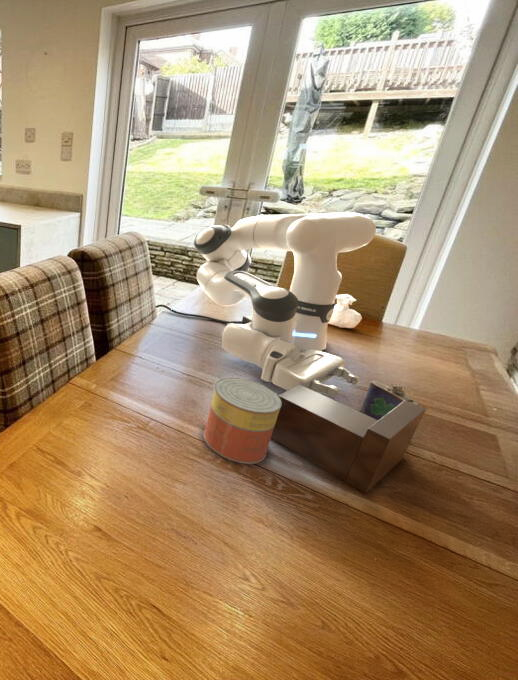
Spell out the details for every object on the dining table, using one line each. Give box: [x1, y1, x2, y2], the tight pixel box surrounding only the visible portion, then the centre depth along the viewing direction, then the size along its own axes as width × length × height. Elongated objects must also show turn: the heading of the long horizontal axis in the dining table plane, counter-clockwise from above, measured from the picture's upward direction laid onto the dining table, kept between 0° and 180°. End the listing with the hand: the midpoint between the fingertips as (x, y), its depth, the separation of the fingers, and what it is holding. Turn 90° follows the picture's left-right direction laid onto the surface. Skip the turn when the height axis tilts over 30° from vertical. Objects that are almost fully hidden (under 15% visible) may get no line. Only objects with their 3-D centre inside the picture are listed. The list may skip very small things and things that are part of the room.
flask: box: [358, 380, 420, 420], centre depth 83 cm, size 9×3×11 cm, turn 8°
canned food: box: [203, 377, 282, 465], centre depth 78 cm, size 11×11×12 cm
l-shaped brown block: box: [270, 385, 427, 494], centre depth 77 cm, size 17×16×12 cm
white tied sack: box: [328, 293, 363, 329], centre depth 132 cm, size 12×8×11 cm
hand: (348, 387), depth 88 cm, fingers open, 8 cm apart
